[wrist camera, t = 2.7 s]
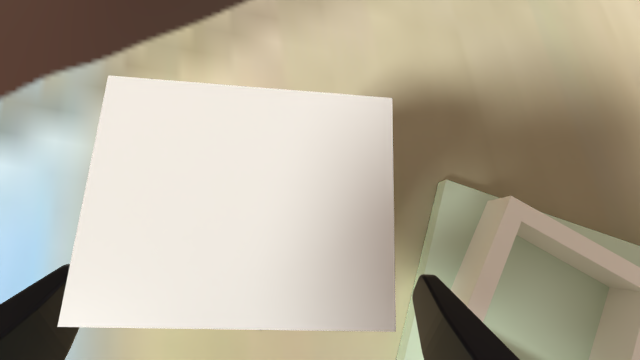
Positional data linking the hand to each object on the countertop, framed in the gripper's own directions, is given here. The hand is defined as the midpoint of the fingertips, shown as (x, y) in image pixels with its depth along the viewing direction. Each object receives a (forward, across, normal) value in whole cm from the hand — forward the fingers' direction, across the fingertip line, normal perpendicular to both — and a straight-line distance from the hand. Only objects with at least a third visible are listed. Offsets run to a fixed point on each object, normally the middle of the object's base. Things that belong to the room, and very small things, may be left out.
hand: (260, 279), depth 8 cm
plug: (+8, 0, +5) cm, 9 cm away
